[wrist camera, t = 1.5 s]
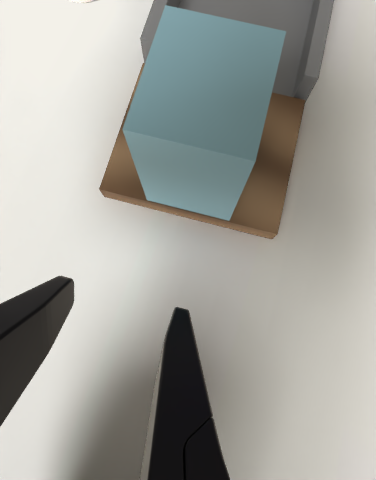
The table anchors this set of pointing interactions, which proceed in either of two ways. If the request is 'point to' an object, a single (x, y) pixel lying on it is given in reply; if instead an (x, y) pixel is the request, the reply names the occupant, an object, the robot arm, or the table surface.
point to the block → (201, 109)
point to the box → (273, 16)
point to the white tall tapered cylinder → (80, 1)
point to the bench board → (256, 188)
